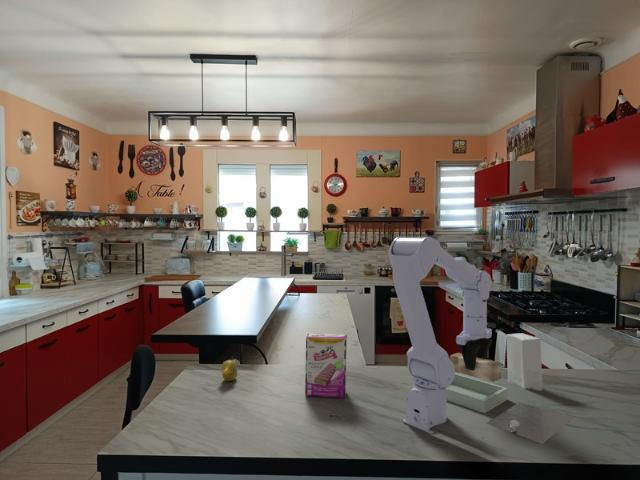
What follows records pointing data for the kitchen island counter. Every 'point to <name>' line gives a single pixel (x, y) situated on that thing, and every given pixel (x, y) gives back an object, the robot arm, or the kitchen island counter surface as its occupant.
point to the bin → (476, 393)
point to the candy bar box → (326, 365)
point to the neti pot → (229, 370)
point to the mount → (530, 422)
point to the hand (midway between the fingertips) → (474, 367)
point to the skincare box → (524, 361)
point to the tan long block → (478, 368)
